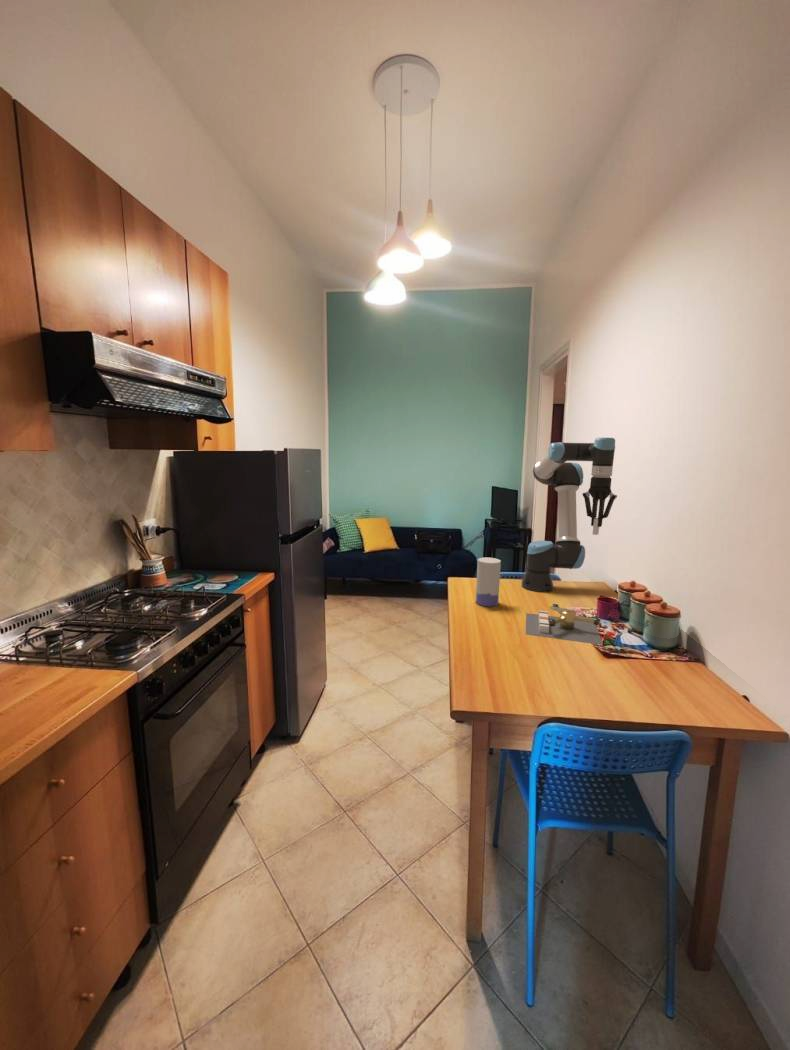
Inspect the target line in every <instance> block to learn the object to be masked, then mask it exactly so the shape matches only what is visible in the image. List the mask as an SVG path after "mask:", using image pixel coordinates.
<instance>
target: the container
mask: <svg viewBox="0 0 790 1050" xmlns="http://www.w3.org/2000/svg"><path fill="white" fill-rule="evenodd" d="M501 564H502V560H501V559H498V558H495V557H487V556H486V557H480V558H477V568H476V570H477V571H476V587H475V603H476V604H478V605H480V606H482V607H489V608H490V607H497V606H498V605H499V597H500V596H499V595H500V584H501V583H500V580H501Z"/></svg>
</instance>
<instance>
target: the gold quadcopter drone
mask: <svg viewBox="0 0 790 1050" xmlns="http://www.w3.org/2000/svg"><path fill="white" fill-rule="evenodd" d="M549 610H551V611H555V612H557V613H559V614H560V615H559V616H557V617H558V618H555V619H549V625H550V626H555V624H558V623H560V627H561V628H564V629H574V624H575V620H576V621H582V622H588V623H593V624H594V625H596V626H599V625H600V622H601V618H600V617H594V618H593V617H585V616H580V615H576V614H577V613H576V612H575V610H572V609H570V608H565V607H560V606H559V604H556V603H552V605H551V606H549Z"/></svg>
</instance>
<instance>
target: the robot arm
mask: <svg viewBox="0 0 790 1050" xmlns="http://www.w3.org/2000/svg"><path fill="white" fill-rule="evenodd" d="M615 451H616V438H614V437H596V438H595V439H594V442H561V441H559V442H552V443H549V447H548V451H547V455H546V457H544V458H543V460H539V461H538V462H536V464H535V465H534V466H533V470H532V476H533V477H534V479H535V480H536V481H537V482H539V483H541V484H543V485H547V486H554V490H555V491H556V492H557V504H558V505H557V515H558V517H557V519H558V521H557V522H558V523H557V524H558V526H557V527H558V528H557V529H558V531H557V532H558V538H557V539H556V540H555V542H554V543H555V544H554V543H553V542H552V541H550V540H537V541H532V542H530V543H529V544H528V546H527V552H526V555H527V556H526V566H525V567H526V568H525V573H524V575H523V577H522V580H521V587H522V588H523V589H525V590H527V591H533V592H539V593H540V592H541V593H542V592H543V593H544V592H546V593H547V592H551V591H553V589H554V583H553V582H554V581H553V578H552V574H551V570H552V569H569V570H573V569H574V570H575V569H581V567H582V566H583V564H584V562H585V558H586V549H585V546H584V545H583V544H581V540H579V539H578V526H577V525H578V524H577V523H578V522H577V521H578V520H577V491H578V490H579V489H580V486H582V485H583V483H584V471H583V468H582V466H581V465H580V463H577V462H592V464H591V473H590V476H592V477H590V485H589V488H588V490H587V491H586V492H583V493H582V496H583V498H584V504H585V510H586V515H587V517H589V518H590V519H591V523H590V525H591V527H592V535H595V536H597V535H599V531H600V528H601V527H602V525H603V520H604V519H607V518H608V517H609V515H610V511H611V509H612V507H613V504H614V501H615V500H616V499H617V498H618V495H617V494H614V493H613V492H612V488H611V487H612V478H611V477H612V476H613V470H614V469H613V468H614V467H613V466H614V459H615ZM569 461H570V462H569ZM571 461H572V462H571ZM590 496H591V498H592V506H591V500H590ZM607 498H609V499H608V502H607V505H606V507H605V502H606V499H607ZM597 513H598V515H597Z"/></svg>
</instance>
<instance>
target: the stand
mask: <svg viewBox="0 0 790 1050" xmlns="http://www.w3.org/2000/svg"><path fill="white" fill-rule="evenodd" d="M548 613H549V612H548V611H545V610H538V614H534V613H528V612H526V613H525V635H528V636H534V637H535V636H536V637H541V638H542V637H543V638H548V639H556V640H563V641H570V642H578V643H586V644H593V645H600V646H604V644H603V641H602V639H601V636H600V633H599V630H598V628H597V627H598V626H597V625H594V624H593V623H588V622H582V621H576V620H575V624H574V629H564V628H561V627H560V623H558V624H555V626H550V625H549V619H555V618H558V617H559V616H552V615H549V614H548Z"/></svg>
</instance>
